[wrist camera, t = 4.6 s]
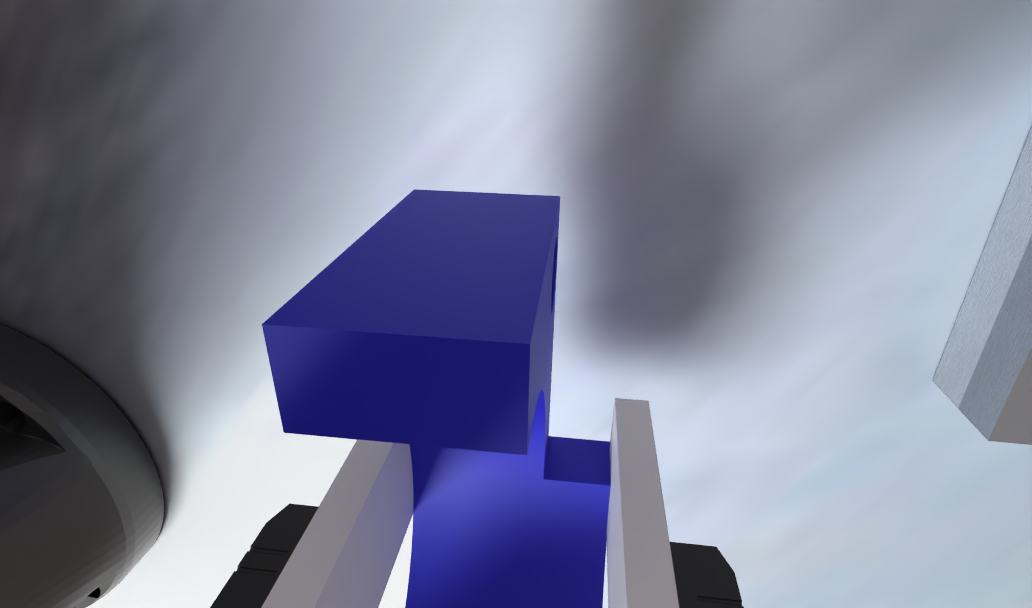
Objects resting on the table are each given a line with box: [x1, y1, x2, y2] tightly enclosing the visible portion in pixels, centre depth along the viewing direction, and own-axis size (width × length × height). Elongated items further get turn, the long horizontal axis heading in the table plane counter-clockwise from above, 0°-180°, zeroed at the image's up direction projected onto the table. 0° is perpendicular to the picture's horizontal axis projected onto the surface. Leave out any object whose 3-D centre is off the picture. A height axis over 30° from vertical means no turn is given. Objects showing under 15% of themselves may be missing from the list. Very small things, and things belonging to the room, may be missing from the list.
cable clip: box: [262, 190, 611, 608], centre depth 11 cm, size 12×4×6 cm, turn 179°
